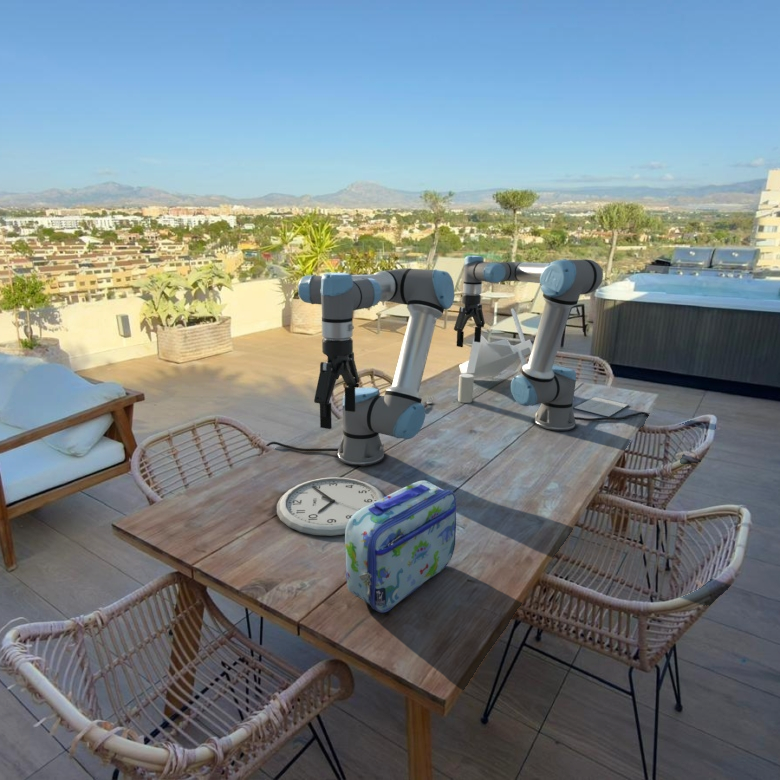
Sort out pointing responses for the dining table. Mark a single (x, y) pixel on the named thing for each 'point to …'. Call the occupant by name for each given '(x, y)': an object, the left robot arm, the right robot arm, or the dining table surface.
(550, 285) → the right robot arm
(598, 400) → the invitation card
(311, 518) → the wall clock
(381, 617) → the dining table surface
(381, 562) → the lunch box
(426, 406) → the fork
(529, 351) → the white plastic object
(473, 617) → the dining table surface
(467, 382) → the canister
